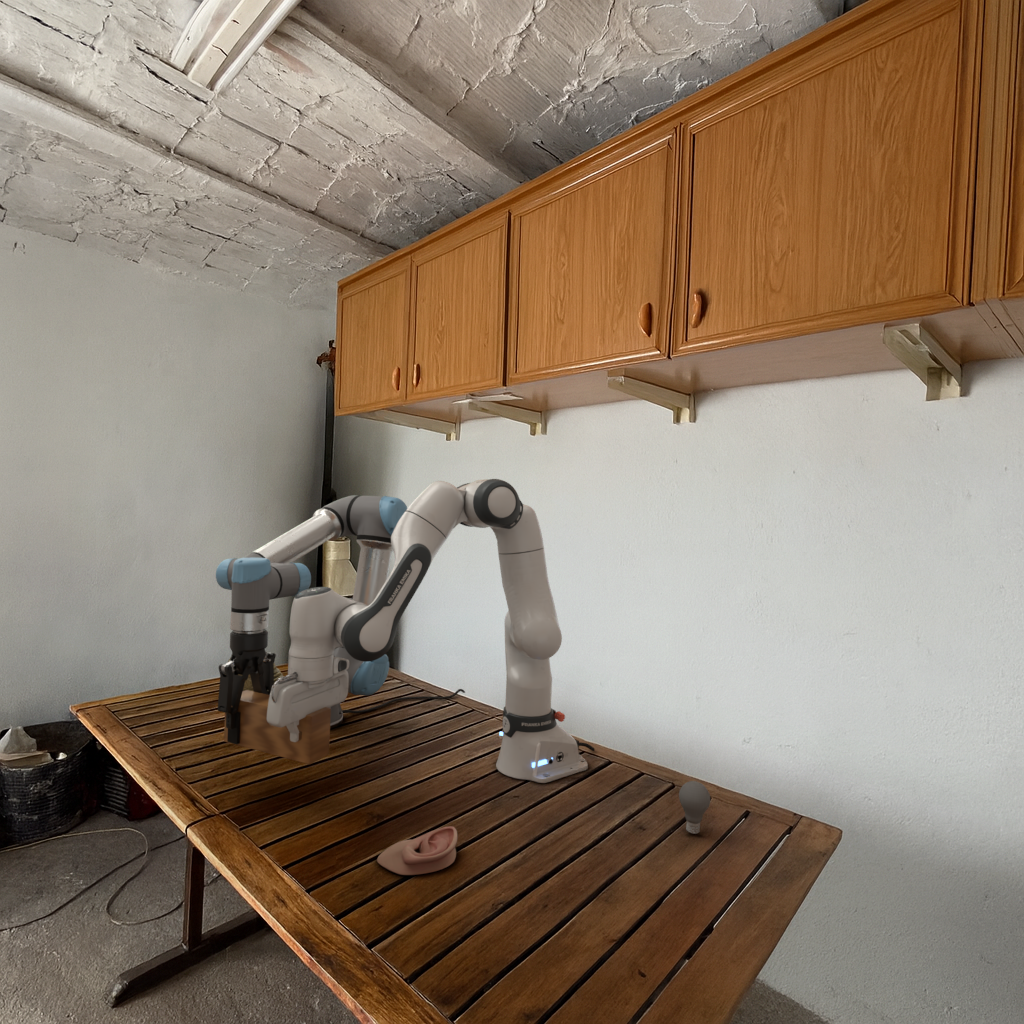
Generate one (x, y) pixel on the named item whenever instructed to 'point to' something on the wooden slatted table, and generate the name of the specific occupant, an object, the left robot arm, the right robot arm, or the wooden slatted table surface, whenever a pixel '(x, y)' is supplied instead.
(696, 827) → the light bulb
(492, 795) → the wooden slatted table surface
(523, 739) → the right robot arm
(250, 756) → the wooden slatted table surface
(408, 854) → the anatomical model
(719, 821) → the wooden slatted table surface
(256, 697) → the bar
